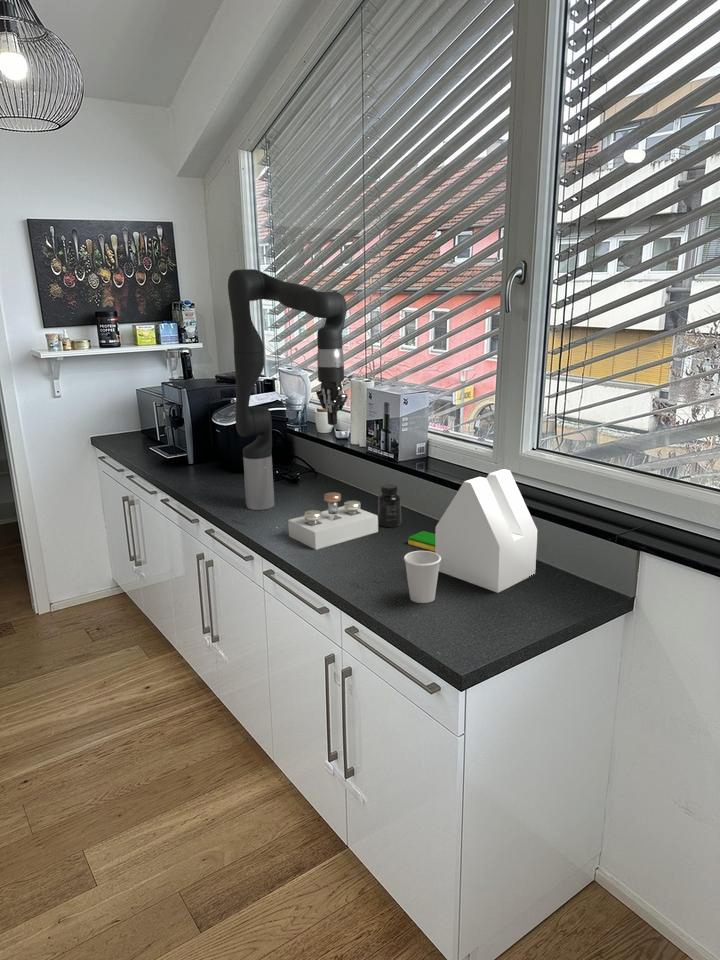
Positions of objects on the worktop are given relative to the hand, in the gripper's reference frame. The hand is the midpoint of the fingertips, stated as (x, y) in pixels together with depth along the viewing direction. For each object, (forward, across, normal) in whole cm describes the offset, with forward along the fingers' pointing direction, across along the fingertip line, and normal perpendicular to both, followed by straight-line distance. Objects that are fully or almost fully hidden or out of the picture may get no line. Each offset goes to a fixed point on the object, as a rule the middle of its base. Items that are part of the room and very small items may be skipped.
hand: (332, 424), depth 196 cm
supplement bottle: (+31, +10, +13) cm, 35 cm away
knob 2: (+28, +6, +2) cm, 29 cm away
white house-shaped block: (+31, +53, +8) cm, 62 cm away
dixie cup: (+31, +54, -14) cm, 64 cm away
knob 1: (+28, +6, -12) cm, 31 cm away
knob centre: (+24, +6, -5) cm, 26 cm away
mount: (+31, +6, -5) cm, 32 cm away
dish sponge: (+32, +32, +11) cm, 46 cm away
